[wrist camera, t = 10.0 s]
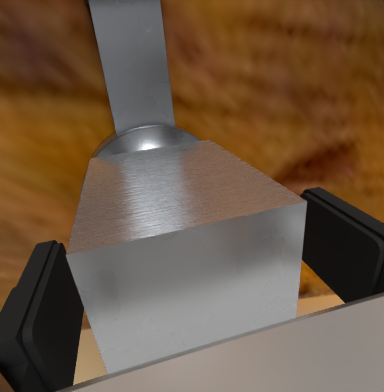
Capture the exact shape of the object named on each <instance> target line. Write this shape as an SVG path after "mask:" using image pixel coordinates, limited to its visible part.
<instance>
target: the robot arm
mask: <svg viewBox="0 0 384 392" xmlns="http://www.w3.org/2000/svg"><path fill="white" fill-rule="evenodd" d="M300 197H301V198H302V199H304V200H306V201H307V208H306V218H305V229H304V239H303V250H302V260H303V261H304V262H305V263H306V264H307V265H308V266H309V267H310V268H311V269H312V270H313V271H314V272H315V273H316V274H317V275H318V276H319V277H320V278H321V279H322V280H323V281H324V282H325V283H326V284H327V285H328V286H329V287H330V288H331V289H332V290H333V291H334V292H335V293H336V294H337V295H338V296H339V297H340V298H341V299H342V300H343V301H344V303H345V304H342V305H339V306H335V307H331V308H328V309H325V310H321V311H318V312H314V313H310V314H307V315H304V316H300V317H297V318H293V319H290V320H287V321H283V322H280V323H276V324H273V325H269V326H266V327H263V328H259V329H256V330H252V331H249V332H246V333H242V334H239V335H235V336H232V337H229V338H225V339H222V340H219V341H215V342H212V343H208V344H205V345H202V346H198V347H195V348H192V349H188V350H185V351H182V352H178V353H175V354H172V355H168V356H165V357H162V358H158V359H155V360H152V361H148V362H145V363H142V364H138V365H135V366H132V367H129V368H126V369H123V370H120V371H116V372H113V373H110V374H107V375H104V376H101V377H98V378H95V379H91V380H88V381H85V382H82V383H79V384H76V385H73V381H74V374H75V367H76V360H77V353H78V346H79V340H80V333H81V326H82V319H83V312H84V306H83V303H82V300H81V297H80V295H79V292H78V289H77V286H76V283H75V281H74V278H73V275H72V272H71V269H70V266H69V264H68V261H67V258H66V250H65V247H64V245H63V243H57V241H55V240H53V241H48V242H43V243H38V244H37V245H36V246H35V248H34V250H33V252H32V255H31V257H30V259H29V261H28V263H27V265H26V267H25V269H24V271H23V273H22V276H21V278H20V280H19V282H18V284H17V286H16V287H14V288H13V289H12V290H11V292H10V294H9V296H8V298H7V300H6V302H5V304H4V306H3V308H2V310H1V312H0V392H384V223H382V222H380V221H379V220H377V219H375V218H373V217H372V216H370V215H368V214H366V213H364V212H363V211H361V210H359V209H357V208H356V207H354V206H352V205H350V204H349V203H347V202H345V201H343V200H341V199H340V198H338V197H336V196H334V195H333V194H331V193H329V192H327V191H326V190H324V189H322V188H320V187H316V188H311V189H306V190H304V192H303V194H301V195H300Z"/></svg>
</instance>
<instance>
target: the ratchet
mask: <svg viewBox="0 0 384 392" xmlns="http://www.w3.org/2000/svg"><path fill="white" fill-rule="evenodd" d="M84 2H85V5H86V6H90V10H91V15H92V19H93V24H94V29H95V34H96V38H97V43H98V48H99V53H100V58H101V62H102V67H103V72H104V77H105V81H106V86H107V91H108V96H109V100H110V105H111V110H112V115H113V119H114V124H115V129H116V131H115V132H114V133H112V134H111V135H109V136H108V137H107V138H106V139H105V140H104V141H103V142H102V143H101V144H100V145H99V146H98V148H97V149H96V150H95V152H94V153H93V155H92V157H91V158H96V157H102V156H109V155H115V154H121V153H128V152H134V151H140V150H146V149H153V148H159V147H165V146H172V145H178V144H184V143H191V142H197V141H201V140H199V139H198V138H197V137H195V136H194V135H192V134H191V133H189V132H188V131H187V130H185V129H183V128H181V127H179V126H176V125H175V122H174V114H173V105H172V97H171V88H170V80H169V72H168V63H167V55H166V46H165V38H164V29H163V21H162V12H161V4H160V0H84ZM88 165H89V164H88ZM87 169H88V166H87ZM86 173H87V170H86ZM85 177H86V174H85ZM85 177H84V181H85ZM84 181H83V185H84ZM83 185H82V189H83ZM82 189H81V193H82Z"/></svg>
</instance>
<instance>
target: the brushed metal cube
mask: <svg viewBox="0 0 384 392" xmlns="http://www.w3.org/2000/svg"><path fill="white" fill-rule="evenodd" d="M306 208H307V201H306V200H304V199H302V198H301V197H299V196H298V195H296V194H295V193H293V192H291V191H290V190H288V189H287V188H285V187H284V186H282V185H280V184H279V183H277V182H276V181H274V180H273V179H271V178H269V177H268V176H266V175H265V174H263V173H262V172H260V171H258V170H257V169H255V168H254V167H252V166H251V165H249V164H247V163H246V162H244V161H243V160H241V159H239V158H238V157H236V156H235V155H233V154H232V153H230V152H228V151H227V150H225V149H224V148H222V147H221V146H219V145H217V144H216V143H214V142H213V141H211V140H210V139H209V140H203V141H197V142H191V143H184V144H178V145H172V146H165V147H159V148H153V149H146V150H140V151H134V152H128V153H121V154H115V155H109V156H102V157H96V158H90V161H89V165H88V169H87V173H86V177H85V181H84V185H83V189H82V193H81V197H80V201H79V205H78V209H77V213H76V217H75V221H74V225H73V229H72V233H71V236H70V240H69V244H68V248H67V252H66V258H67V261H68V264H69V266H70V269H71V272H72V275H73V278H74V281H75V283H76V286H77V289H78V292H79V295H80V297H81V300H82V303H83V306H84V309H85V312H86V314H87V317H88V320H89V323H90V326H91V328H92V331H93V334H94V337H95V340H96V342H97V345H98V348H99V351H100V354H101V357H102V360H103V362H104V365H105V368H106V371H107V374H110V373H113V372H116V371H120V370H123V369H126V368H129V367H132V366H135V365H138V364H142V363H145V362H148V361H152V360H155V359H158V358H162V357H165V356H168V355H172V354H175V353H178V352H182V351H185V350H188V349H192V348H195V347H198V346H202V345H205V344H208V343H212V342H215V341H219V340H222V339H225V338H229V337H232V336H235V335H239V334H242V333H246V332H249V331H252V330H256V329H259V328H263V327H266V326H269V325H273V324H276V323H280V322H283V321H287V320H290V319H293V318H296V312H297V302H298V292H299V281H300V271H301V260H302V250H303V239H304V229H305V218H306Z"/></svg>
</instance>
